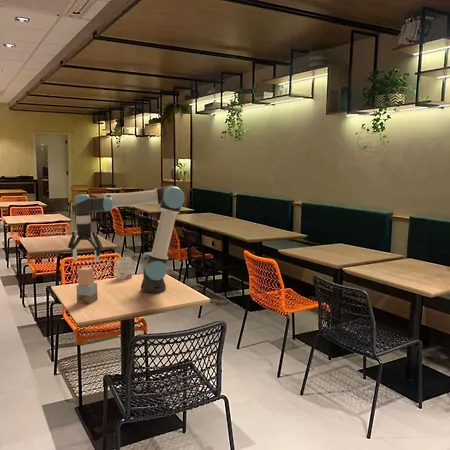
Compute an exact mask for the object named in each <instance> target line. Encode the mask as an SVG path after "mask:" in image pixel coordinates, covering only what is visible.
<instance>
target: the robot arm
mask: <svg viewBox="0 0 450 450" xmlns="http://www.w3.org/2000/svg"><path fill="white" fill-rule="evenodd" d="M185 198H186V197H185V193H184V191H183V190H182V188H180V187H178V186H175V185H167V186H163V187H156V188H154V189H151V190H143V191H142V190H141V191H133V192H123V193H116V194H113V193H112V194H105V195H104V194H100V195H98V196H97V197H90V195H89V194H87V193H83V194H82V193H81V194H77V195H75V196H74V205H75V208H74V209H75V221H76V222H75V223H76V230H77V231H76V230H75V231H74V230H73V231H72V232H71V238H70V239H69V243H68V245H67V248H68V249H70V250H71V255H72V261H73V262H77V261H78V252H77V251H78V249H77V248H76V247H77V246H78V245H79V243H80V242H81V241H88V242H89V243H90V244H91V245H92V247H93V248H94V262H95V263H98V262H100V256H101V250H103V248H104V247H103V244H102V242H101V240H100V238H99V236H98V233H97V231H94V232H92V223H91V222H92V218H91V217H92V216H91V212H93V213H94V212H110V211H112V210H113V208H119V207H120V208H121V207H130V206H138V205H139V206H140V205H149V204H156V205H159V208H160V210H161V213H160V217H159V221H158V225H157V229H156V233H155V236H154V237H155V238H154V242H153V245H152V250H151V251H150V252H144V253H143V254H142V264H143V267H142V268H143V271H142V272H143V277H142V280H141V281H142V282H141V285H140V292H142V293H146V294H159V293H163V292H165V291H166V290H167V285H166V282H165V279H164V278H165V277H166V275H167V272H168V267H167V265H168V262H169V256H168V251H169V247H170V243H171V239H172V236H173V230H174V227H175V222H176V219H177V215H178V214H179V213H181V208H182V206H183V204H184V202H185V200H186V199H185Z"/></svg>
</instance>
